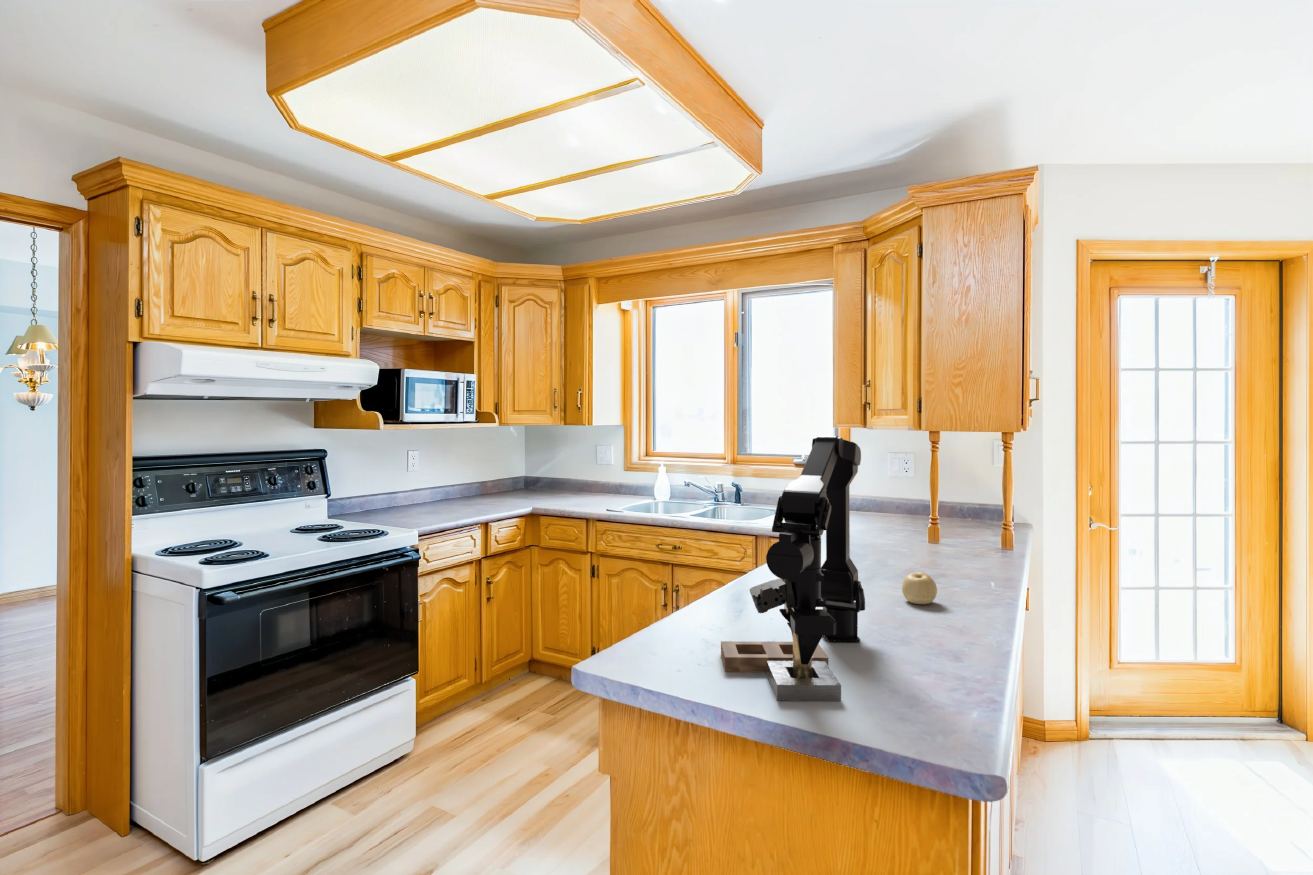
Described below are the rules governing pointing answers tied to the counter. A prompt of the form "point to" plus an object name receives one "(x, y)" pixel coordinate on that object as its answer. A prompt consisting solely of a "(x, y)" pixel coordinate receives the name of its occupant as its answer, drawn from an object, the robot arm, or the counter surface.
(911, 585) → the apple
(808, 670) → the peg
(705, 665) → the counter surface
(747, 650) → the rack
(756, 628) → the counter surface
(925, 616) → the counter surface
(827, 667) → the socket block
